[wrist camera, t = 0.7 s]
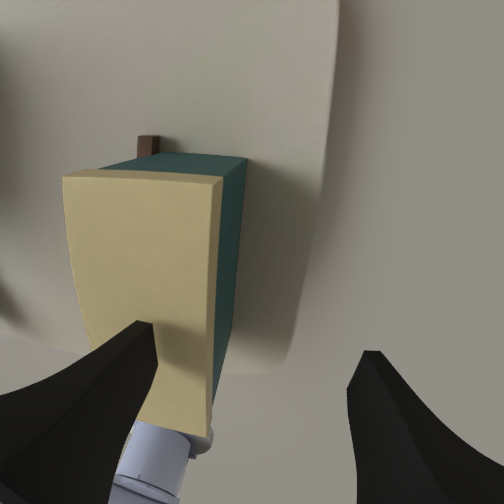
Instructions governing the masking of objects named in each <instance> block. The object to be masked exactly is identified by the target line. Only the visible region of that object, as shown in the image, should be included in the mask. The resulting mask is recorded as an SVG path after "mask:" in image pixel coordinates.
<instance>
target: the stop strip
mask: <svg viewBox="0 0 504 504" xmlns="http://www.w3.org/2000/svg"><path fill="white" fill-rule="evenodd" d="M158 152H159V135H142V136H138V144H137V158H141V157H145V156H149V155H153V154H158Z"/></svg>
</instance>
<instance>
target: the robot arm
mask: <svg viewBox="0 0 504 504" xmlns="http://www.w3.org/2000/svg"><path fill="white" fill-rule="evenodd" d="M157 368H158V358H157V352H156V345H155V338H154V330H153V323H148V322H144V321H139V320H136V321H135V322H133V323H132V324H130V325H129V326H127V327H126V328H125V329H123V330H122V331H121V332H119V333H118V334H116V335H115V336H114V337H112V338H111V339H109V340H108V341H107V342H105V343H104V344H102V345H101V346H99V347H98V348H97V349H95V350H94V351H92V352H91V353H89V354H88V355H86V356H84V357H83V358H81V359H80V360H78V361H77V362H75V363H73V364H72V365H70V366H69V367H67V368H65V369H63V370H61V371H60V372H58V373H56V374H54V375H52V376H50V377H48V378H46V379H44V380H42V381H39V382H37V383H34V384H32V385H30V386H27V387H24V388H22V389H19V390H16V391H13V392H10V393H7V394H3V395H0V504H179V501H180V499H179V498H177V494H178V493H179V491H180V489H181V485H182V481H183V477H184V474H185V470H186V466H187V463H188V459H189V458H190V459H196V457H197V455H196V446H195V436H194V435H192V434H188V433H183V432H179V431H175V430H171V429H167V428H163V427H159V426H156V425H152V424H149V423H145V422H142V421H139V420H136V418H137V416H138V414H139V411H140V409H141V407H142V405H143V403H144V401H145V399H146V397H147V395H148V393H149V391H150V389H151V386H152V383H153V380H154V377H155V374H156V371H157ZM347 407H348V418H349V424H350V430H351V436H352V442H353V448H354V454H355V461H356V470H357V504H504V466H502V465H500V464H498V463H496V462H495V461H493V460H491V459H490V458H488V457H486V456H484V455H483V454H481V453H480V452H478V451H477V450H475V449H474V448H473V447H471V446H470V445H469V444H467V443H466V442H465V441H463V440H462V439H461V438H460V437H458V436H457V435H456V434H455V433H454V432H452V431H451V430H450V429H449V428H448V427H447V426H445V424H444V423H442V422H441V421H440V420H439V419H438V418H437V417H436V416H435V415H434V413H433V412H432V411H431V410H430V409H429V408H428V407H427V406H426V405H425V404H424V403H423V402H422V400H421V399H420V398H419V397H418V396H417V395H416V394H415V392H414V391H413V390H412V389H411V388H410V386H409V385H408V384H407V383H406V382H405V380H404V379H403V378H402V377H401V375H400V374H399V373H398V372H397V371H396V369H395V368H394V367H393V366H392V364H391V363H390V362H389V361H388V359H387V358H386V357H385V356H384V355H383V354H382V352H381V351H366V350H364V352H363V355H362V357H361V359H360V362H359V364H358V366H357V368H356V370H355V373H354V375H353V377H352V379H351V381H350V383H349V386H348V387H347ZM132 426H134V428H135V429H134V431H133V434H132V436H131V438H130V441H129V443H128V446H127V448H126V450H125V452H124V455H123V457H122V459H121V462H120V465H119V467H118V469H117V465H118V462H119V459H120V455H121V452H122V449H123V446H124V444H125V441H126V438H127V436H128V434H129V432H130V430H131V428H132ZM116 469H117V472H116ZM115 472H116V474H115Z"/></svg>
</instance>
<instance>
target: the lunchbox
mask: <svg viewBox="0 0 504 504" xmlns="http://www.w3.org/2000/svg"><path fill="white" fill-rule="evenodd" d="M246 167H247V158H242V157H232V156H220V155H208V154H193V153H175V152H162V153H158V154H153V155H149V156H145V157H141V158H137V159H133V160H129V161H125V162H121V163H118V164H114V165H110V166H107V167H103V168H100V169H85V170H82V171H78V172H75V173H72V174H69V175H65V176H63V177H62V189H63V203H64V214H65V224H66V233H67V240H68V247H69V254H70V260H71V266H72V272H73V277H74V282H75V287H76V292H77V296H78V301H79V305H80V309H81V313H82V317H83V321H84V325H85V328H86V332H87V336H88V339H89V342H90V346H91V349H92V351H94V350H95V349H97V348H98V347H99V346H101V345H102V344H104V343H105V342H107V341H108V340H109V339H111V338H112V337H114V336H115V335H116V334H118V333H119V332H121V331H122V330H123V329H125V328H126V327H127V326H129V325H130V324H132V323H133V322H135V321H136V320H139V321H144V322H148V323H153V330H154V338H155V345H156V352H157V358H158V368H157V371H156V374H155V377H154V380H153V383H152V386H151V389H150V391H149V393H148V395H147V397H146V399H145V401H144V403H143V405H142V407H141V409H140V411H139V414H138V416H137V418H136V420H139V421H142V422H145V423H149V424H152V425H156V426H159V427H163V428H167V429H171V430H175V431H179V432H183V433H188V434H192V435H197V436H202V437H207V436H208V432H209V428H210V423H211V419H212V406H213V402H214V398H215V394H216V390H217V386H218V382H219V378H220V374H221V370H222V366H223V362H224V358H225V354H226V350H227V346H228V342H229V338H230V334H231V327H232V315H233V304H234V292H235V281H236V270H237V259H238V248H239V238H240V227H241V217H242V206H243V196H244V186H245V177H246Z"/></svg>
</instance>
